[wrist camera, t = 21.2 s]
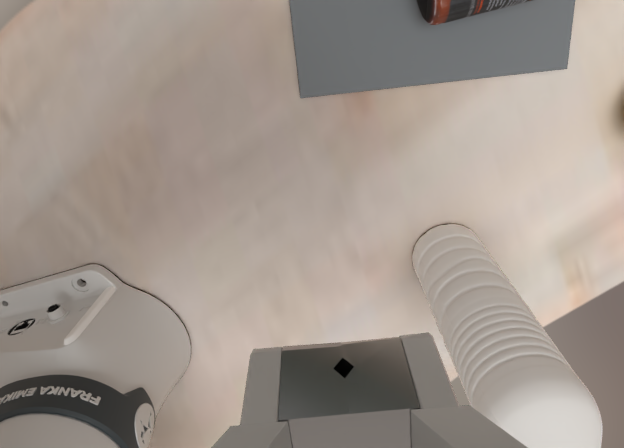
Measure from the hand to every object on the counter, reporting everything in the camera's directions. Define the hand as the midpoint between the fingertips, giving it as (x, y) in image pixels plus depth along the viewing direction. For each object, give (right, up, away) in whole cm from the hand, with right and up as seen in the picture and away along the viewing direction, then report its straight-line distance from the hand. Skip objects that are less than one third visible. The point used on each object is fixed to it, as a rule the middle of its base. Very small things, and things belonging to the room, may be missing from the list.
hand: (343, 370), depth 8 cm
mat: (+8, +20, +27) cm, 35 cm away
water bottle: (+11, -1, +37) cm, 39 cm away
